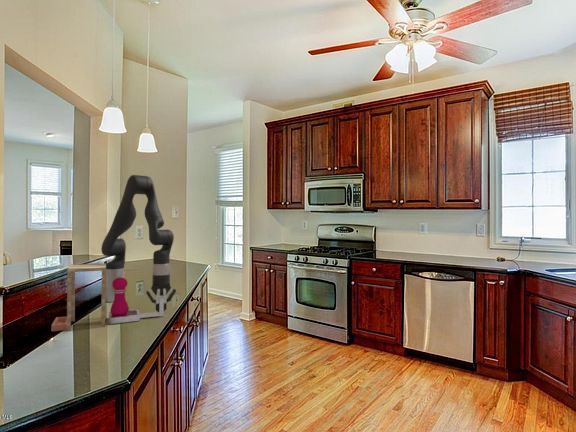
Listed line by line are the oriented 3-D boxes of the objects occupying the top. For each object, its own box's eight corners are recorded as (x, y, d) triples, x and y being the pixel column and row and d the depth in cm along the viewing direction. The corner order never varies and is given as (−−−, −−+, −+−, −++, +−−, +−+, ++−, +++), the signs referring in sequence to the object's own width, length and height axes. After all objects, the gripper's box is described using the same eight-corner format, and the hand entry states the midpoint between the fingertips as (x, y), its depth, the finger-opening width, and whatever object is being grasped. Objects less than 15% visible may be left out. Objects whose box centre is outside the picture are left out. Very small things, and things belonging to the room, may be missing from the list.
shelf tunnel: (71, 320, 154) (71, 264, 155) (105, 317, 160) (106, 263, 160) (67, 330, 141) (67, 269, 141) (104, 326, 146) (105, 267, 147)
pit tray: (56, 323, 151) (56, 317, 151) (69, 321, 153) (69, 316, 153) (51, 331, 140) (51, 325, 140) (66, 329, 142) (66, 323, 142)
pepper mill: (132, 318, 158) (132, 273, 158) (119, 323, 151) (119, 276, 151) (119, 317, 160) (120, 272, 160) (106, 321, 154) (106, 274, 154)
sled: (109, 317, 159) (109, 299, 159) (161, 311, 168) (161, 294, 168) (108, 324, 149) (108, 304, 149) (164, 317, 159) (164, 299, 159)
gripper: (175, 271, 170) (175, 307, 169) (144, 273, 164) (144, 311, 163) (178, 273, 163) (177, 311, 163) (145, 275, 157) (145, 315, 157)
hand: (160, 311), depth 163 cm, fingers closed on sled, 2 cm apart
